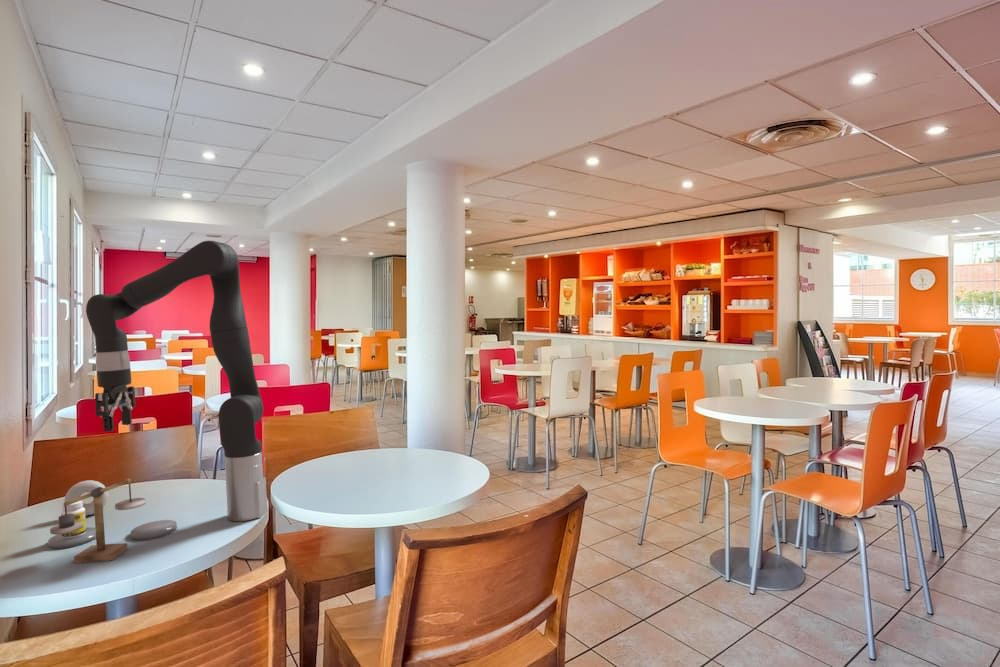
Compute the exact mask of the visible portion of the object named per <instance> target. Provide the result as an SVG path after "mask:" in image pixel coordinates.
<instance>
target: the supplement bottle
mask: <svg viewBox="0 0 1000 667" xmlns="http://www.w3.org/2000/svg"><path fill="white" fill-rule="evenodd" d="M83 503H84V502H83V500H81V501H78V502H76V503H73V504H70V505H67V506H66V507H67V514H74V521H82V522H83V527H82V528H80V529H78V530H76V531H73V532H69V533H64V534H62V537H63V538H64V539H71V538H76V537H79V536H82V535H84V534H85V533H86V528H87V524H86V523H87V522H86V516H85V508H83V507H82V506H83ZM62 515H65V507H64V504H63V503H62V512H61V513H60V516H62Z"/></svg>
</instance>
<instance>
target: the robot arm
mask: <svg viewBox="0 0 1000 667" xmlns="http://www.w3.org/2000/svg"><path fill="white" fill-rule="evenodd" d="M239 262H240V261H239V257H238V253H237V251H236V250H235V249H234V248H233V247H232V246H231V245H229V244H227V243H224V242H219V241H216V240H203V241H201V242H199V243H197V244H195V245H193V247H192V248H190V249H189V250H187V251H186V252H184V253H183V254H182V255H180V256H179V257H177V258H175V259H174V260H172V261H170V262H169V263H167V264H165V265H163V266H162V267H160V268H159V269H156V270H155V271H152V272H150V273H148V274H146V275H143V276H141V277H138V278H137V279H134V280H132V281H130V282H129V283H127V284H125V285H124V286H123V287H122V289H121V291H120V292H118V293H115V294H103V293H99V294H94V295H92V296H91V297H89V299H88V301H87V303H86V307H85V313H86V318H87V320H88V323H89V325H90V328H91V331H92V333H93V335H94V340H95V353H96V354H95V355H96V356H95V367H96V380H97V381H96V382H97V387H98V388H103V391H102V392H97V393H95V395H94V396H95V398H94V400H95V401H94V402H95V416H96V417H100V418H102V426H103V431H104V432H113V431H114V430H115V425H114V424H115V423H114V413H115V410H117V409H118V407H119V409H120V410H121V412H120V413H121V414H120V415H121V424H122V425H123V426H127V425H131V424H132V419H133V418H132V410H133V409H134V408H135V407H136V406H137V404H136V394H135V388H134V385H133V386H129V385H131V384H132V373H131V372H132V371H131V359H130V354H129V345H128V337H127V333H126V331H124V330H123V329H120V328H119V327H118V325H117V322H116V321H121V320H124V319H127V318H128V317H130V316H132V315H134V314H135V313H137V312H138V311H139V310H140V309H142V308H143V307H146V306H148V305H150V304H152V303H154V302H156V301H159V300H160V299H163V298H164V297H166V296H168V295H170V294H171V292H173V291H175V289H176V288H178V287H179V286H181V285H182V284H184V283H186V282H188V281H190V280H194V279H196V278H199V277H203V276H207V275H208V276H209V277H210V280H211V286H212V290H213V301H212V302H213V304H212V308H211V312H210V316H209V317H210V318H209V333H210V338H211V344H212V349H213V352H214V354H215V358H216V359H217V361H218V362H219V364H220V366H221V367H222V369H223V371H224V373H225V376H226V377H227V381H228V386H229V394H230V397H229V398H227V399H226V400H225V401H223V403H222V404H221V405H220V408H219V411H218V428H219V437H220V439H219V440H220V445H221V446H222V449H223V451H224V452H223V453H224V466H225V468H224V469H225V471H224V472H225V473H224V474H225V485H226V486H225V489H226V491H225V492H226V506H227V510H226V512H227V520H229V521H232V522H244V521H251V520H254V519H260V518H262V516H264V514H265V513H266V512H268V501H267V500H268V499H267V498H268V496H267V478H266V476H264V474H263V473H264V472H263V471H264V470H263V468H264V466H263V453H262V452H263V451H262V449H263V448H262V441H261V440H260V439H257V433H256V424H257V423H258V422H259V421H260V420H261V419H262V418H263V414H264V403H263V399H262V395H261V392H260V389H259V385H258V382H257V378H256V375H255V368H254V359H253V354H252V348H251V342H250V335H249V328H248V324H247V320H246V313H245V309H244V308H245V306H244V302H243V298H242V291H241V278H240V277H241V276H240V263H239Z"/></svg>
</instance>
